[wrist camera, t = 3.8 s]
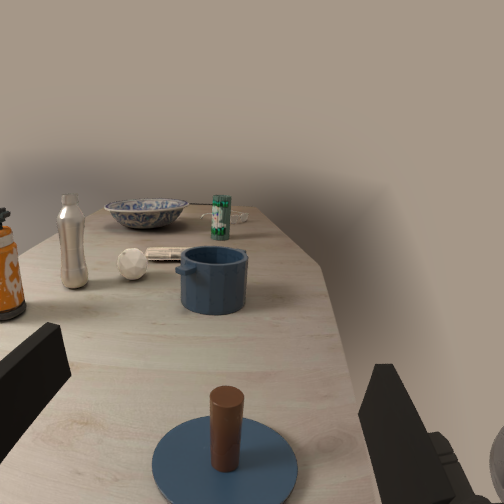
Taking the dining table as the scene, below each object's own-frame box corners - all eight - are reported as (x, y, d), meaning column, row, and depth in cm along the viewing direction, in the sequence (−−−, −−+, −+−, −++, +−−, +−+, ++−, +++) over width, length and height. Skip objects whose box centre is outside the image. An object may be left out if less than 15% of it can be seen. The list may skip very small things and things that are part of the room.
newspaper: (144, 263, 81) (144, 254, 80) (148, 255, 92) (148, 246, 92) (229, 263, 86) (229, 254, 85) (223, 255, 97) (223, 246, 97)
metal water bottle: (57, 290, 59) (49, 196, 54) (70, 279, 65) (65, 192, 60) (81, 293, 59) (75, 196, 54) (93, 281, 66) (89, 192, 60)
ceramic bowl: (108, 220, 133) (107, 198, 130) (181, 218, 145) (182, 197, 142) (100, 238, 102) (99, 209, 99) (195, 236, 114) (196, 208, 112)
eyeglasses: (229, 224, 138) (230, 215, 137) (198, 218, 148) (198, 210, 146) (249, 220, 151) (249, 212, 150) (219, 215, 160) (219, 207, 159)
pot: (263, 296, 67) (267, 252, 64) (207, 327, 52) (208, 274, 50) (216, 280, 73) (218, 240, 71) (157, 304, 59) (156, 256, 56)
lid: (318, 455, 27) (342, 383, 24) (243, 552, 16) (252, 501, 13) (213, 405, 34) (214, 333, 31) (124, 468, 23) (101, 394, 20)
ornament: (152, 281, 69) (134, 258, 64) (125, 289, 70) (107, 268, 64) (154, 258, 74) (138, 235, 68) (129, 266, 75) (112, 245, 69)
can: (207, 237, 113) (209, 195, 109) (219, 235, 118) (221, 194, 114) (220, 241, 109) (222, 197, 105) (232, 238, 114) (234, 196, 110)
